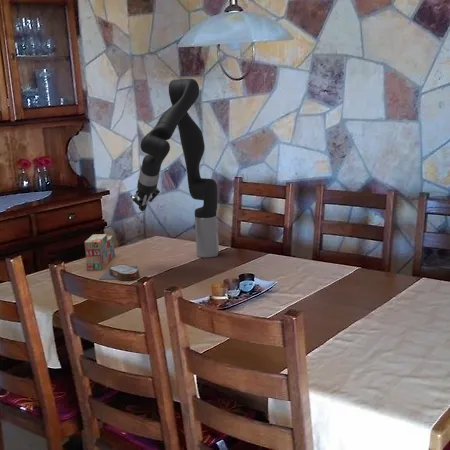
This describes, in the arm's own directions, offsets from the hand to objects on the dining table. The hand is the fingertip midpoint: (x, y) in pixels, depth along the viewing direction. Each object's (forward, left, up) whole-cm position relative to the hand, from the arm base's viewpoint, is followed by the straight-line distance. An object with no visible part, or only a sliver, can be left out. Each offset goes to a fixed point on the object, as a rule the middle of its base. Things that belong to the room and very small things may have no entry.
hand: (142, 209), depth 255 cm
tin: (+3, +10, -22) cm, 24 cm away
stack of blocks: (+20, -5, -24) cm, 32 cm away
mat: (+9, +9, -24) cm, 27 cm away
